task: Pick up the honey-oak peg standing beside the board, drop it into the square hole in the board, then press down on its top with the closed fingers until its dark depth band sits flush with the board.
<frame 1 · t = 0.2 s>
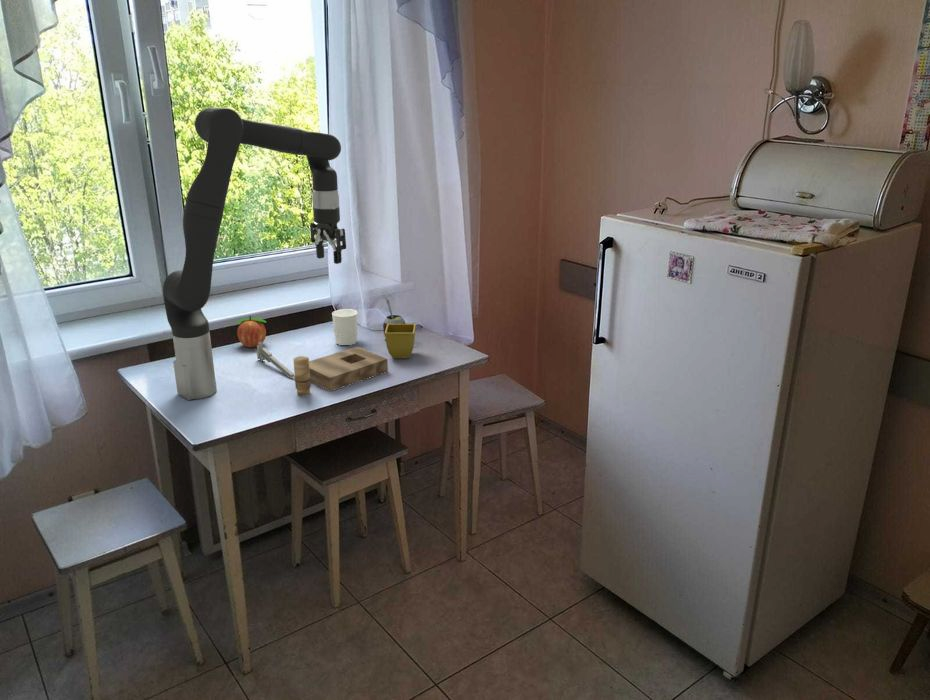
hand: (329, 260, 222), 29 cm above the table, tool pointing down, fingers open, 8 cm apart
fruit: (252, 346, 237), on the table
peg: (303, 393, 204), on the table
flower pot: (401, 356, 230), on the table
white cup: (346, 343, 241), on the table
caliper: (276, 370, 220), on the table
board: (345, 374, 216), on the table
mate gourd: (393, 341, 243), on the table
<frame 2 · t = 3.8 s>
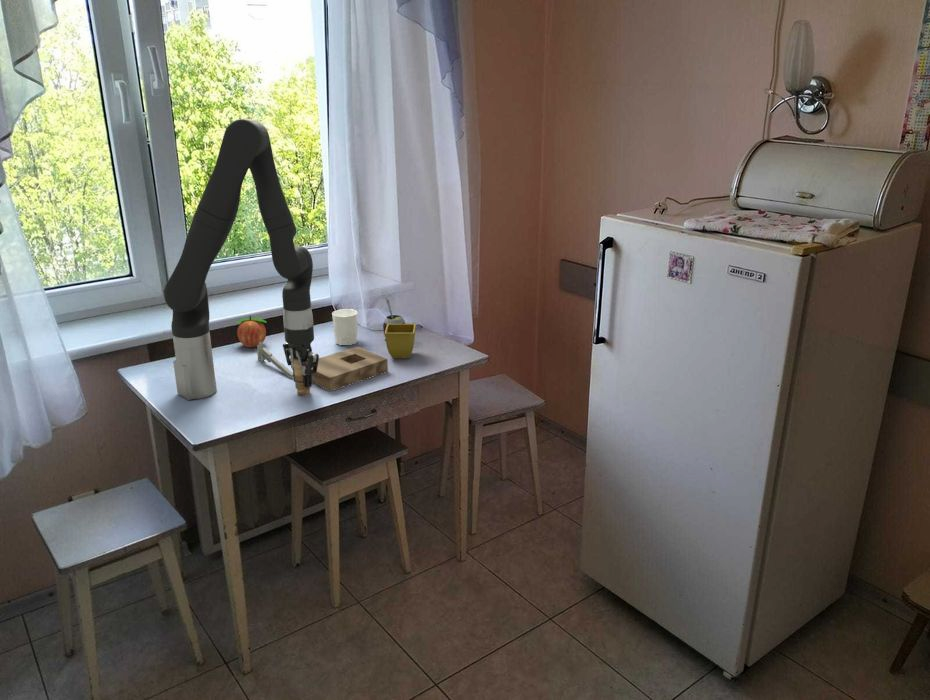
hand: (303, 383, 203), 3 cm above the table, tool pointing down, fingers closed on peg, 4 cm apart
peg: (303, 393, 204), on the table, touching gripper
everything else where it was.
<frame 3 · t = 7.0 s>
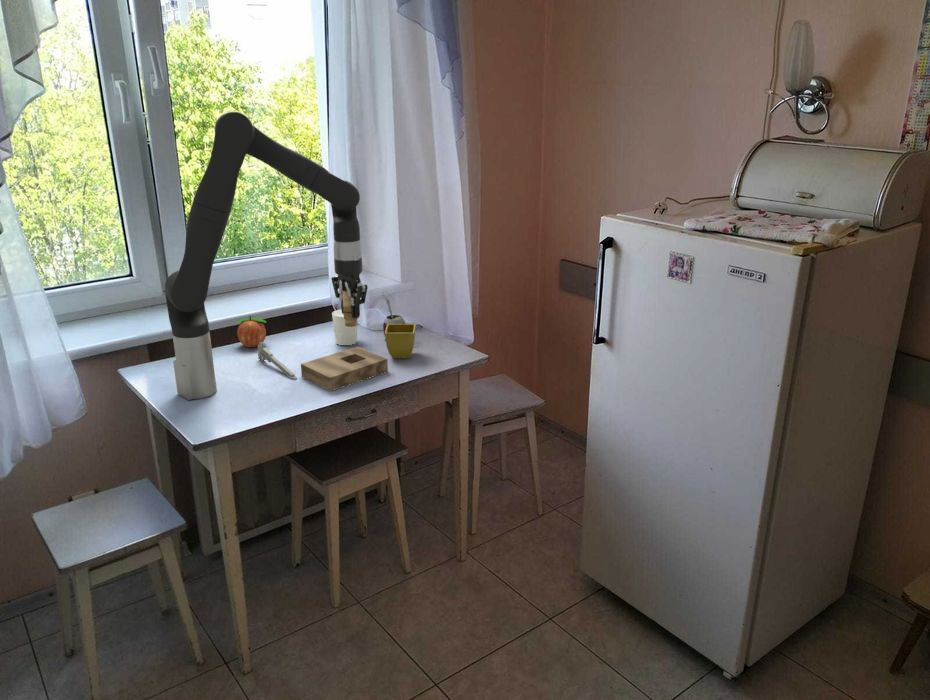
hand: (350, 315, 212), 17 cm above the table, tool pointing down, fingers closed on peg, 4 cm apart
peg: (351, 324, 213), point 14 cm above the table, touching gripper
everything else where it was.
when the fingers open (5 cm above the table, at t = 9.9 s): peg drops 2 cm, resting in board.
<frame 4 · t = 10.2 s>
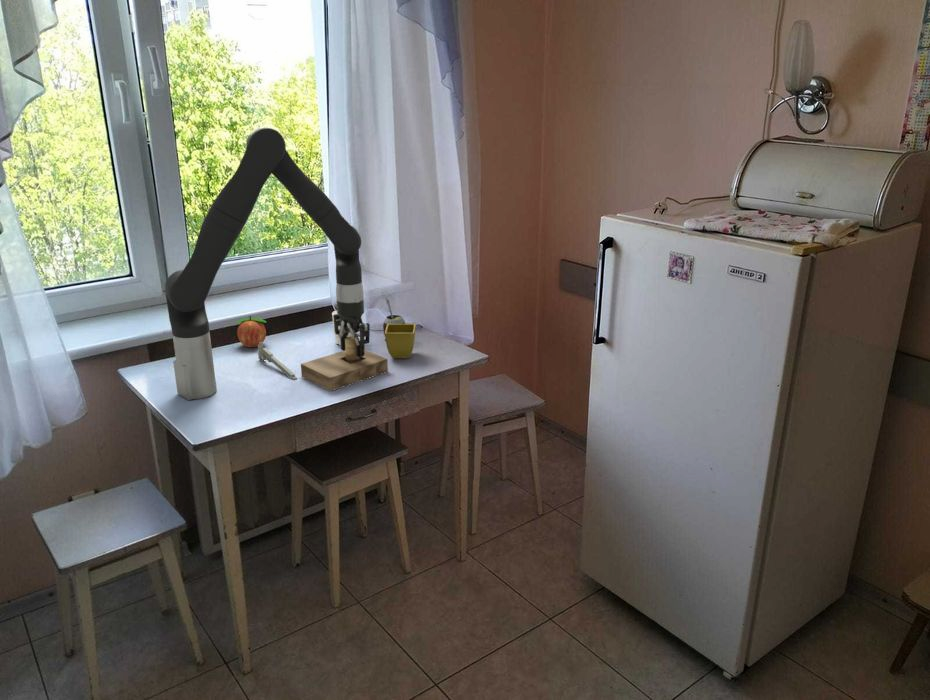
hand: (352, 353, 216), 6 cm above the table, tool pointing down, fingers open, 6 cm apart
peg: (353, 371, 218), resting in board
everything else where it was.
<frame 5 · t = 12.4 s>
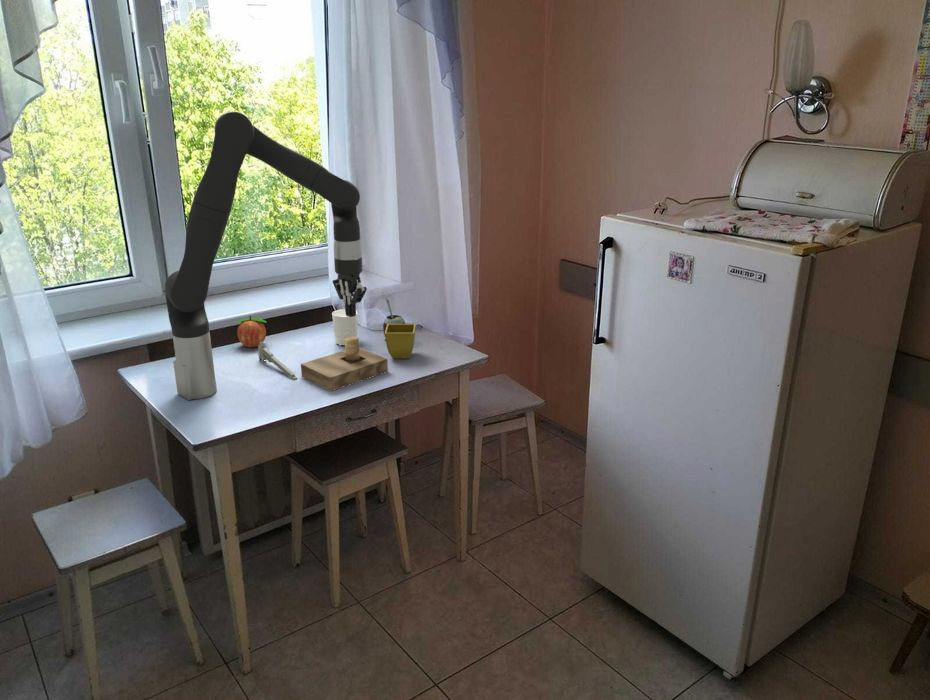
hand: (350, 315, 212), 17 cm above the table, tool pointing down, fingers closed
nothing on the table moved.
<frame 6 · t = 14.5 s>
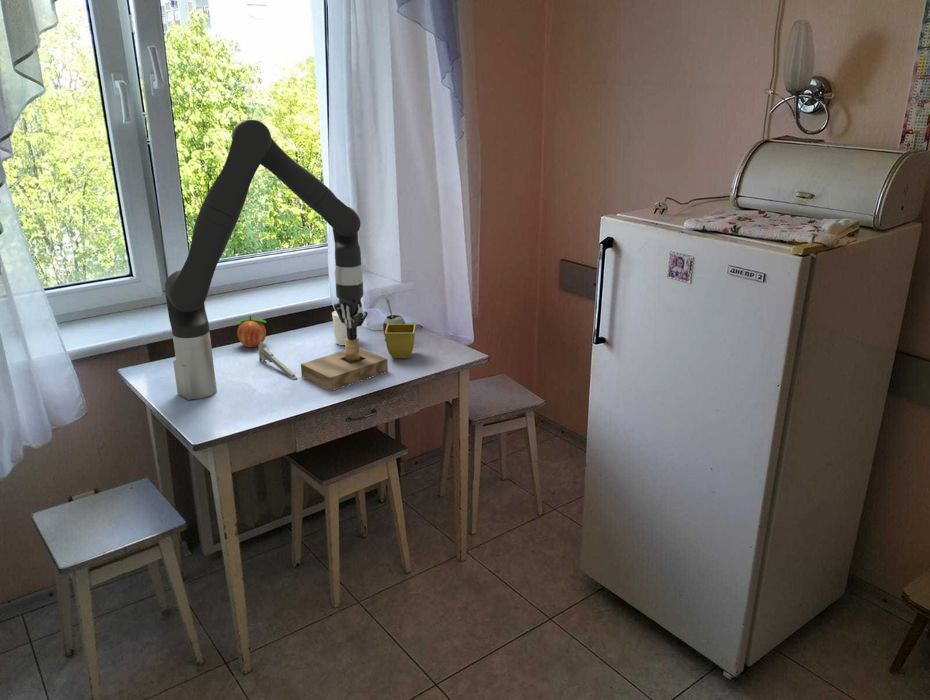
hand: (352, 339, 215), 10 cm above the table, tool pointing down, fingers closed
peg: (353, 371, 218), resting in board, touching gripper
everything else where it was.
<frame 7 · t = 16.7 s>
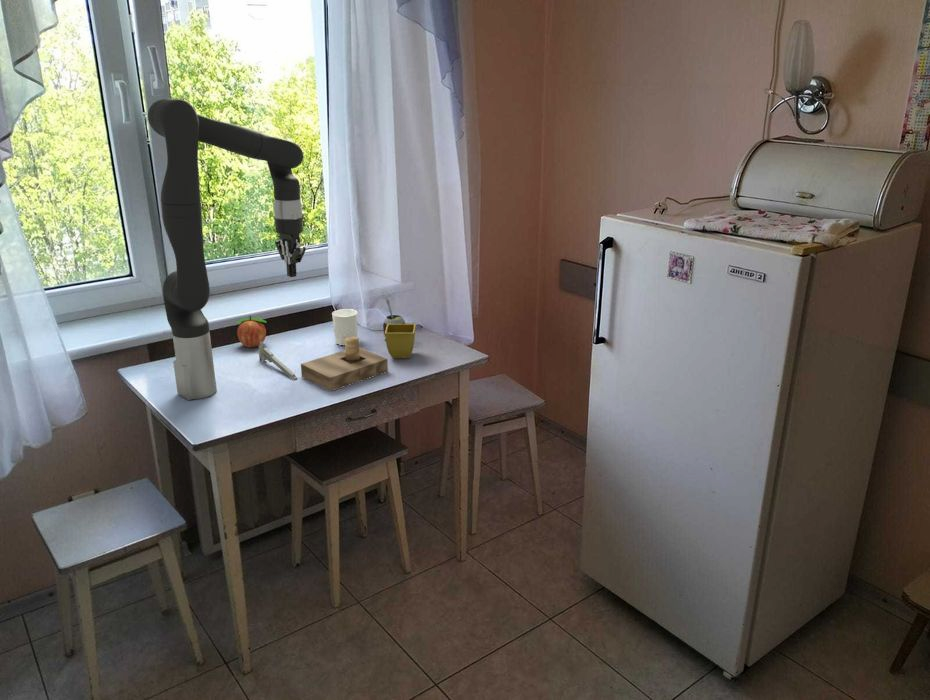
hand: (291, 276, 215), 27 cm above the table, tool pointing down, fingers closed
peg: (353, 371, 218), resting in board
everything else where it was.
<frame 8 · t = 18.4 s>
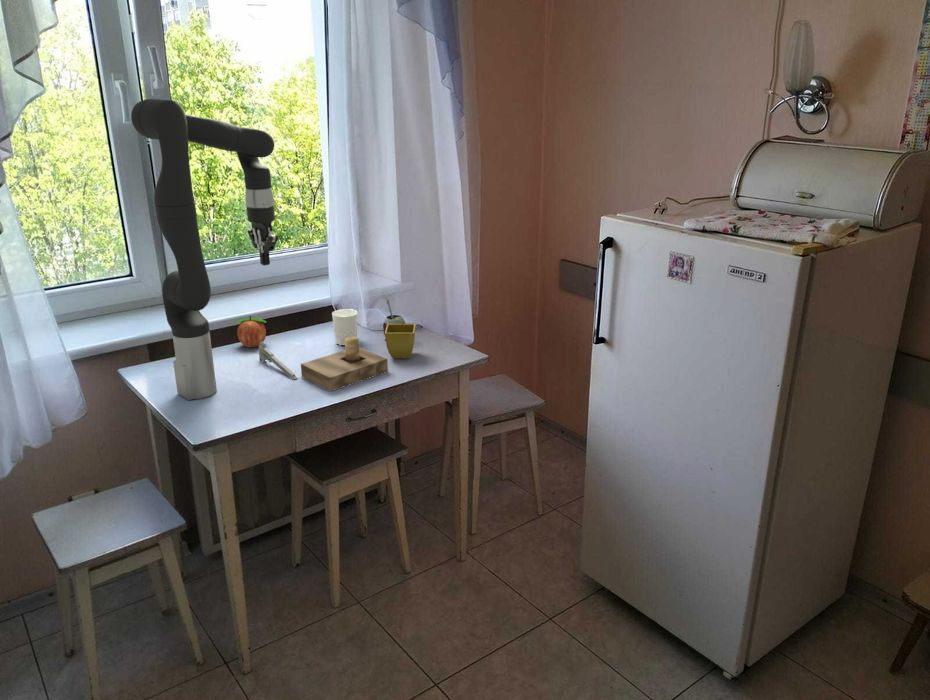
hand: (265, 264, 217), 29 cm above the table, tool pointing down, fingers closed
nothing on the table moved.
at the end: peg 0.1 cm from the target spot on the board, point 0.0 cm above the board's base; peg tilted 0°; the gripper is holding nothing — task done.
